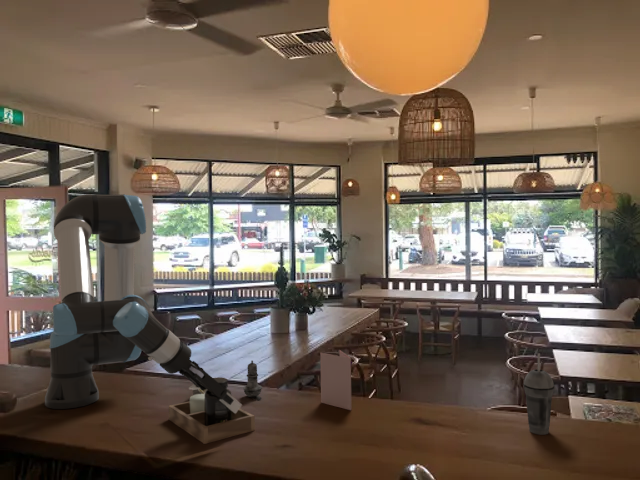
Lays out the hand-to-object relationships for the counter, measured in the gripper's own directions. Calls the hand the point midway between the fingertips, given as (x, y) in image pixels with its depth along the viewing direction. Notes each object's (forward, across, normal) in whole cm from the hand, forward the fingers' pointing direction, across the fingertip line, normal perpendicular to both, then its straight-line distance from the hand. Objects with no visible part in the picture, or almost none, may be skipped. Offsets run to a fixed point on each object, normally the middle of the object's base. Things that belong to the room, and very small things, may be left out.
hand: (230, 405), depth 142 cm
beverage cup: (+47, +51, +37) cm, 79 cm away
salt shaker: (+17, -19, +8) cm, 27 cm away
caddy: (+2, -5, -7) cm, 9 cm away
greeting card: (+28, +2, +19) cm, 34 cm away
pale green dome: (+2, -10, -6) cm, 12 cm away
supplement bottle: (+1, 0, -6) cm, 6 cm away
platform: (+9, -30, -1) cm, 31 cm away
